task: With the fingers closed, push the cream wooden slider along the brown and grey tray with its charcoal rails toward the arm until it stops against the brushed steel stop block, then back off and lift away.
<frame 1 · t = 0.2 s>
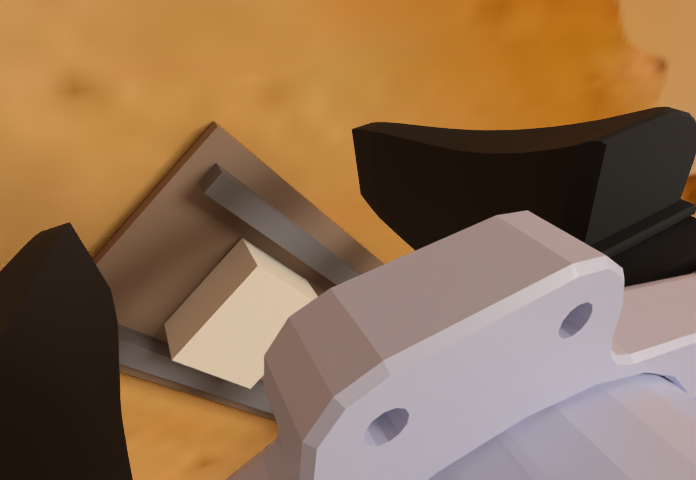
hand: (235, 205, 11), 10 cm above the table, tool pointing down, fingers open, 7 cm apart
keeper: (246, 315, 23), point 2 cm above the table, slide at 0.0 cm
brown and grey tray: (273, 311, 27), on the table
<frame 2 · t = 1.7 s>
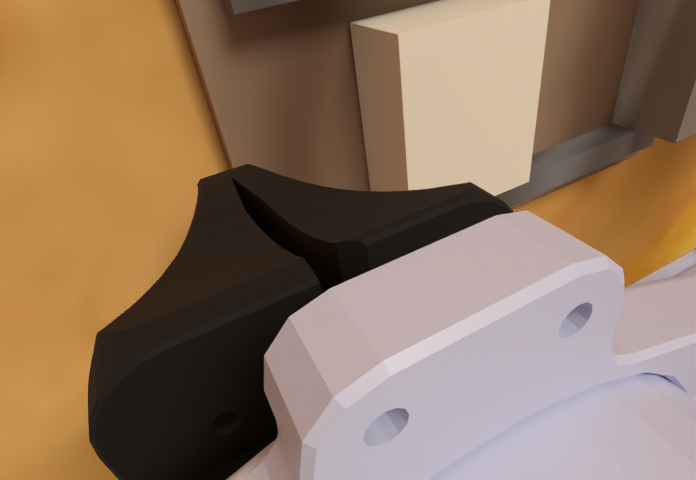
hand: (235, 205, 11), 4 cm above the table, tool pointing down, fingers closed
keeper: (448, 110, 14), point 2 cm above the table, slide at 0.0 cm
brown and grey tray: (476, 73, 17), on the table
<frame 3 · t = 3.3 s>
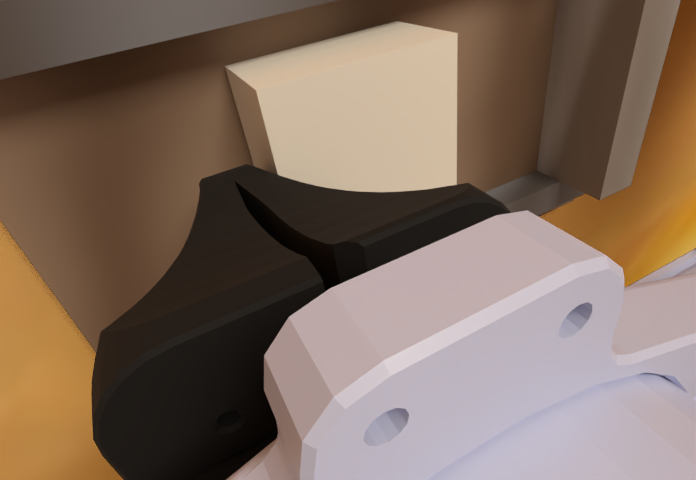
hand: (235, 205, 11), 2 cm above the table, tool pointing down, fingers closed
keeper: (354, 162, 12), point 2 cm above the table, slide at 1.6 cm, touching gripper
brown and grey tray: (359, 125, 15), on the table
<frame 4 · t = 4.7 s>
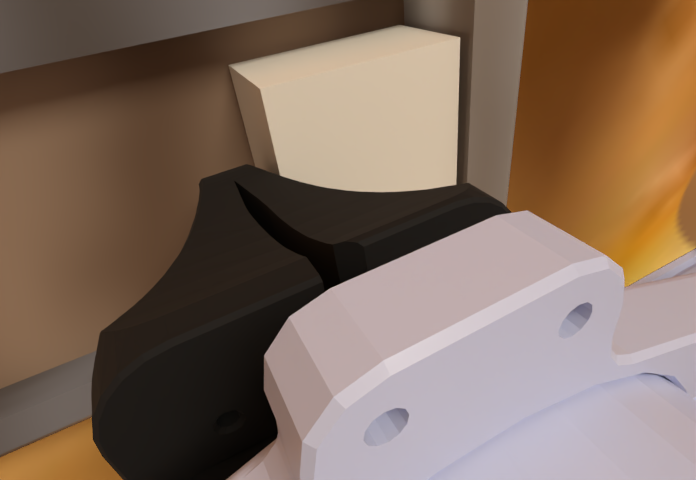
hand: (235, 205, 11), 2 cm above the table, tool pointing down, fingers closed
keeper: (354, 163, 12), point 2 cm above the table, slide at 7.7 cm, touching gripper
brown and grey tray: (176, 183, 13), on the table
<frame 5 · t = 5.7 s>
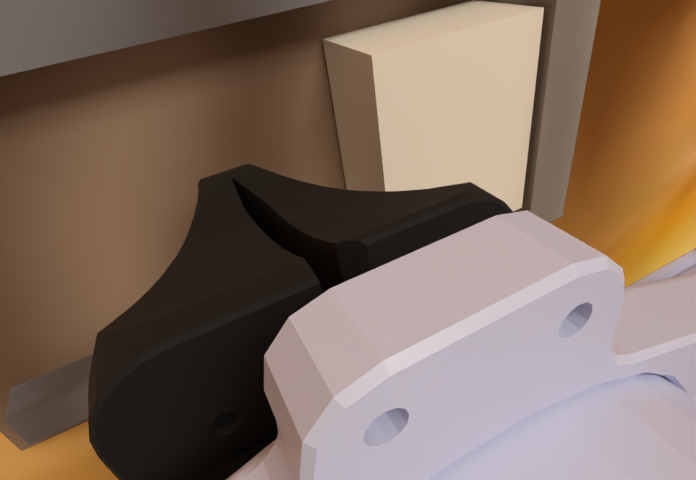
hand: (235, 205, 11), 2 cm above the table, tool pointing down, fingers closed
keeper: (433, 132, 13), point 2 cm above the table, slide at 7.7 cm
brown and grey tray: (262, 155, 14), on the table
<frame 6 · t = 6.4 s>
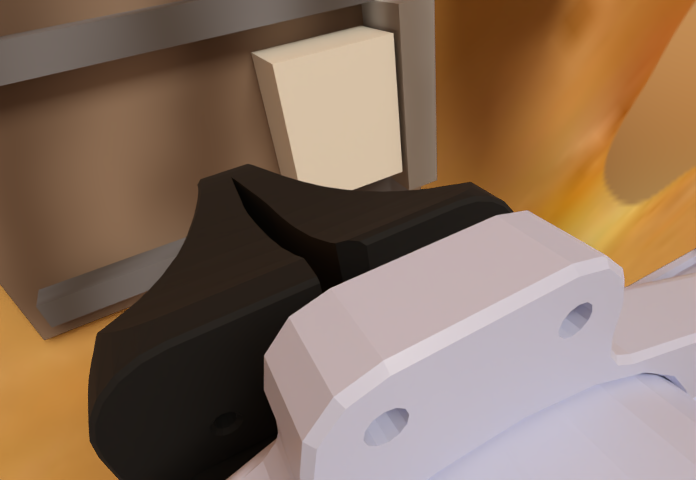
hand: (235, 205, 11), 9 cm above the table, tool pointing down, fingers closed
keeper: (332, 116, 19), point 2 cm above the table, slide at 7.7 cm
brown and grey tray: (215, 132, 19), on the table
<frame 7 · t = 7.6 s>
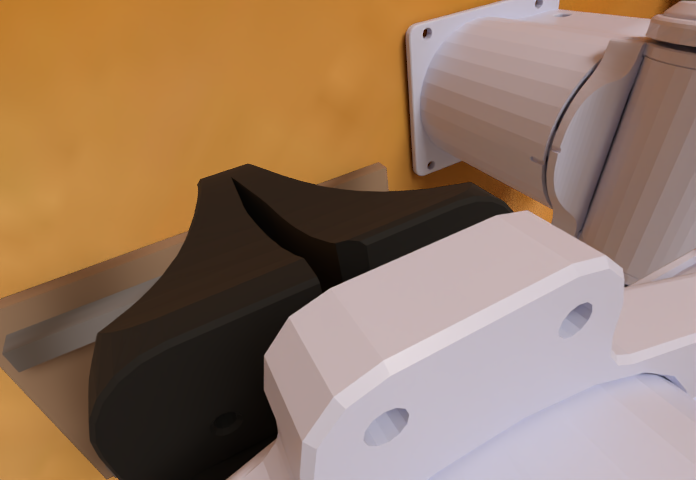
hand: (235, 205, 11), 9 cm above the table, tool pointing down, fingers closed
brown and grey tray: (237, 320, 25), on the table
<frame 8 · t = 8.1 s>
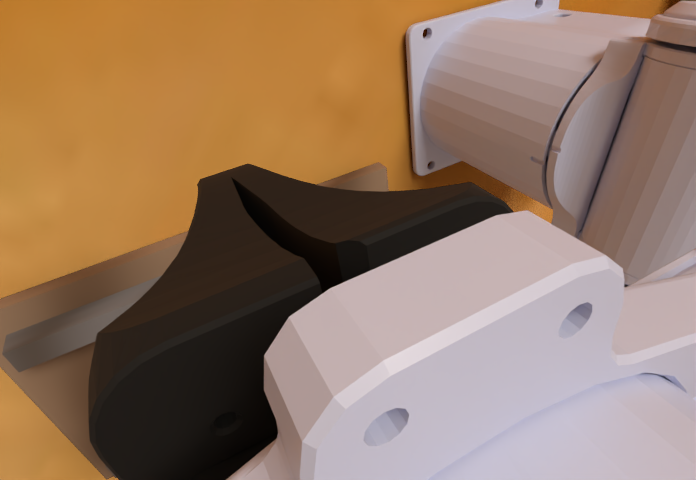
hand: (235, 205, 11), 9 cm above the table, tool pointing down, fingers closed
brown and grey tray: (237, 320, 25), on the table
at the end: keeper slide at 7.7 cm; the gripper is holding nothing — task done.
